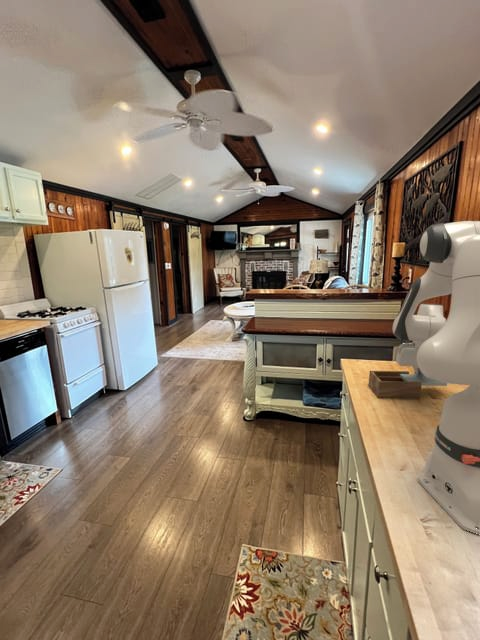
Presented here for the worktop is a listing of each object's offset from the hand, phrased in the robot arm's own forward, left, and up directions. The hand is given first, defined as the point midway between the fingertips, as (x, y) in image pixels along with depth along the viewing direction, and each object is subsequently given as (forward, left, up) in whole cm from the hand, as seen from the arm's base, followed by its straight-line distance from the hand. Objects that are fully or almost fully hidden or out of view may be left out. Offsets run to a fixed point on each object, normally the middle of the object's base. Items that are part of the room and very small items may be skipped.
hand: (420, 375), depth 125 cm
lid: (0, -1, -3) cm, 3 cm away
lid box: (0, +10, -8) cm, 13 cm away
